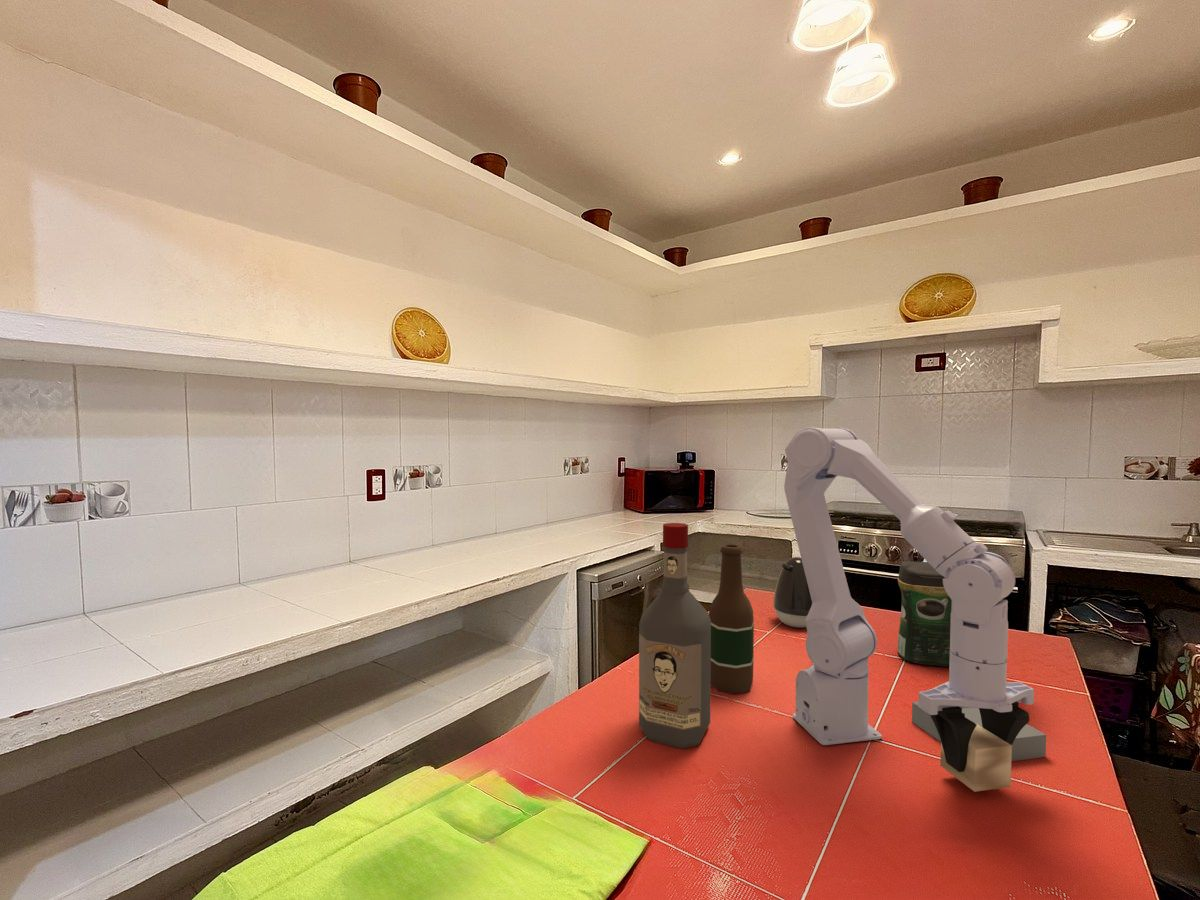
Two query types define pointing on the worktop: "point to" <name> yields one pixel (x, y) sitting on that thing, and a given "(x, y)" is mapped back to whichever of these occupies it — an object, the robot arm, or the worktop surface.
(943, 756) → the birch cube
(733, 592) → the beer bottle
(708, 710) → the liquor
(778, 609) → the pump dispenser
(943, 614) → the coffee jar
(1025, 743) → the slate pedestal
